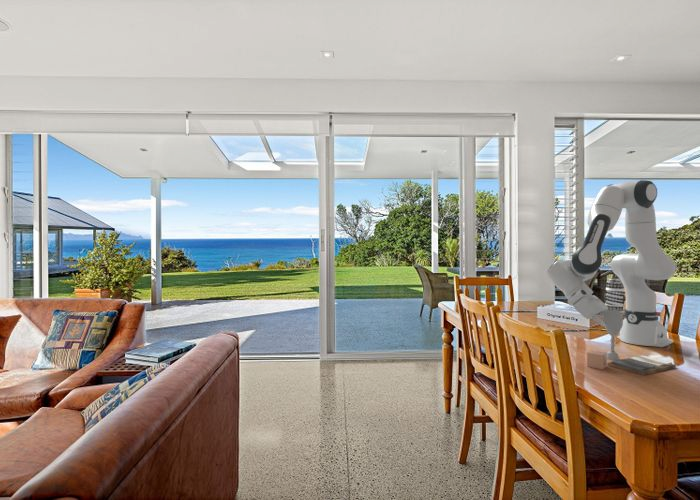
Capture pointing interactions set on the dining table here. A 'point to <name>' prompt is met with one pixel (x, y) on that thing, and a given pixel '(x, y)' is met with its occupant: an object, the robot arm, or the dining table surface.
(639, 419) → the dining table surface
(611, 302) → the decorative candle
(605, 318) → the chalice
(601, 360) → the terracotta cube
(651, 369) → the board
